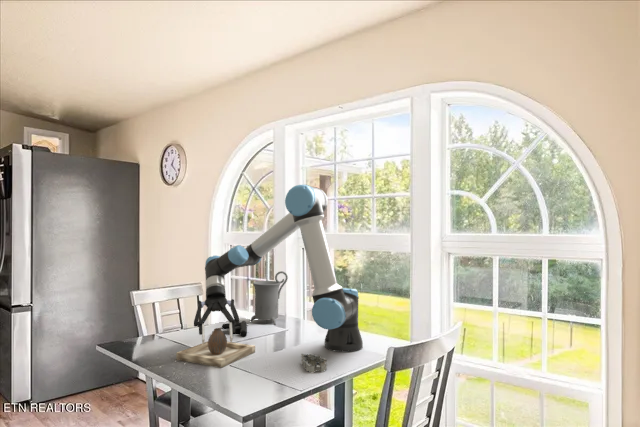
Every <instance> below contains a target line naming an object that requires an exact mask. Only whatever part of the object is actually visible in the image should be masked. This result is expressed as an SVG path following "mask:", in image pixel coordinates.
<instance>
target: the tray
mask: <svg viewBox="0 0 640 427" xmlns="http://www.w3.org/2000/svg"><path fill="white" fill-rule="evenodd" d="M254 353H256V345H253V344H247V343H238V342H233V341H232V342H230V341H227V347H226V350H225V351H224V352H223V353H222V354H212V353H211V352H210V351H209V348H208V340H207V341H205V343H204V344H202V343H200V344H197V345H194V346H192V347H189V348H186V349H182V350H180V351H178V352H176V353H175V354H176V355H175V358H176V361H181V362H187V363H193V364H196V365H197V364H198V365H204V366H208V367H209V366H210V367H215V368H220V369H221V368H224V367H226V366H230V365H231V364H234V363H236V362H237V361H240V360H242V359H243V358H246V357H248V356H251V355H252V354H254Z"/></svg>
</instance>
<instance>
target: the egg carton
mask: <svg viewBox="0 0 640 427" xmlns="http://www.w3.org/2000/svg"><path fill="white" fill-rule="evenodd" d="M300 357H301V365H302V366H303V369H305V368H306V370H305V371H306V372H307V371H310V372H309V373H311V372H314V371H315V372H317V371H316V370H319V371H318V372H321V371H324V370H325V371H327V366H328V365H327V362H328V361H327V360H328V359H327V358H325V357H321V355H320V354H317V355H316V354H314V353H313V354H304V353H301V354H300ZM317 362H319V363H318V364H317ZM325 371H324V372H325ZM315 372H314V373H315Z"/></svg>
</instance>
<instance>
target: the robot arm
mask: <svg viewBox="0 0 640 427" xmlns="http://www.w3.org/2000/svg"><path fill="white" fill-rule="evenodd" d="M284 205H285V208H286V210H287V211H288V214H286V215H285V216H283V217H281V219H280V220H278V221H277V222H276V223H275V224H274V225H273V226H271V227H270V228H269V229H267V230H266V231H265V232H264V233H263V234H261V235H260V236H259V237H258V238H256V239H255V240H254V241H253V242H252V243H250V244H249V245H248V246H246V247H244V246H242V245H240V244H238V245H236V246H234V247H232V248H230V249H229V250H227V251H226V252H225V253H223V254H221V255H213V256H209V257H207V258H206V260H205V264H204V265H205V267H204V271H205V300H204V301H201V300H198V301H197V309H196V313H195V315H194V316H195V317H194V319H193V326H194V327H198V334H199V336H201V344H204V343H205V342H206V340H205V339H206V338H205V336H206V335H205V333H206V332H205V322H206V321H207V319H208V317H209V316H210V314H211V313H212V312H221V313H222V314H223V315H224V317H225V318H226V320H227V321H228V322H229V323H230V324H229V329H228V330H229V331H230V334H229V342H233V340H234V339H233V338H234V337H233V336H234V335H233V333H234V332H235V324H239V322H240V317H239V314H238V311H237V309H236V306H235V299H234V298H231V300H228V299H227V296H226V281H225V276H227V275H228V274H229V273H231V272H232V271H233V270H235V269H237V268H239V269H240V268H243V267H244V268H245V267H249V266H250V267H251V266H256V265H257V264H259V263H260V262H261V261H262V258H263V257H264V256H266V255H268V253H270V251H272V250H273V249H275V248H276V247H277V246H279V245H280V244H281V243H282V242H284V241H285V240H286V239H288V238H289V237H290V236H291V235H293V234H294V233H295V232H296V231H298V230H299V229H300V234H301V238H302V242H303V248H304V250H305V255H306V259H307V263H308V267H309V270H310V276H311V279H312V283H313V287H314V290H313V292H312V294H311V296H312V300H313V306H312V308H311V317H312V318H313V321H314V323H315V324H316V325H317V326H318V327H320V328H322V329H324V330H327V331H326V335H325V339H324V341H323V342H324V348H325V349H327V350H329V349H330V351H333V350H335V351H334V352H342V351H348V352H355V351H360V350H361V349H363V344H364V343H363V337H362V335H361V332H360V329H359V299H360V296H359V291H358V290H357V289H356V288H345V287H343V286H341V285H340V284H338V281H337V278H336V273H335V270H334V269H335V268H334V266H333V261H332V257H331V254H330V250H329V249H330V248H329V245H328V242H327V237H326V233H325V230H324V229H325V228H324V225H323V222H322V221H323V220H324V218H325V211H326V209H327V207H328V196H327V194H326V193H325V191H324V190H323V189H322V188H319V187H316V186H311V185H308V184H297V185H294V186H293V187H291V188H290V189H289V190H288V191H287V193H286V195H285V200H284ZM226 305H227V306H228V307H230V311H231V312H229V310H228V309H227V307H226ZM204 306H205V307H206V309H205V311H204V313H203V315H202V316H201V313H202V309H203V308H204ZM200 316H201V318H200Z"/></svg>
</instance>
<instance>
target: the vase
mask: <svg viewBox="0 0 640 427" xmlns="http://www.w3.org/2000/svg"><path fill="white" fill-rule="evenodd" d="M222 330H223V329H222V327H221V328H219V327H216V328H214V330H213V333H212V332H211V334H210V335H209V338H208V340H207V341H208V348H209V351H210V352H211V353H212V354H222V353H223V352H224V351H225V350H226V347H227V342H228V338H227V335H225V334H224V333H223V332H222Z"/></svg>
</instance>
